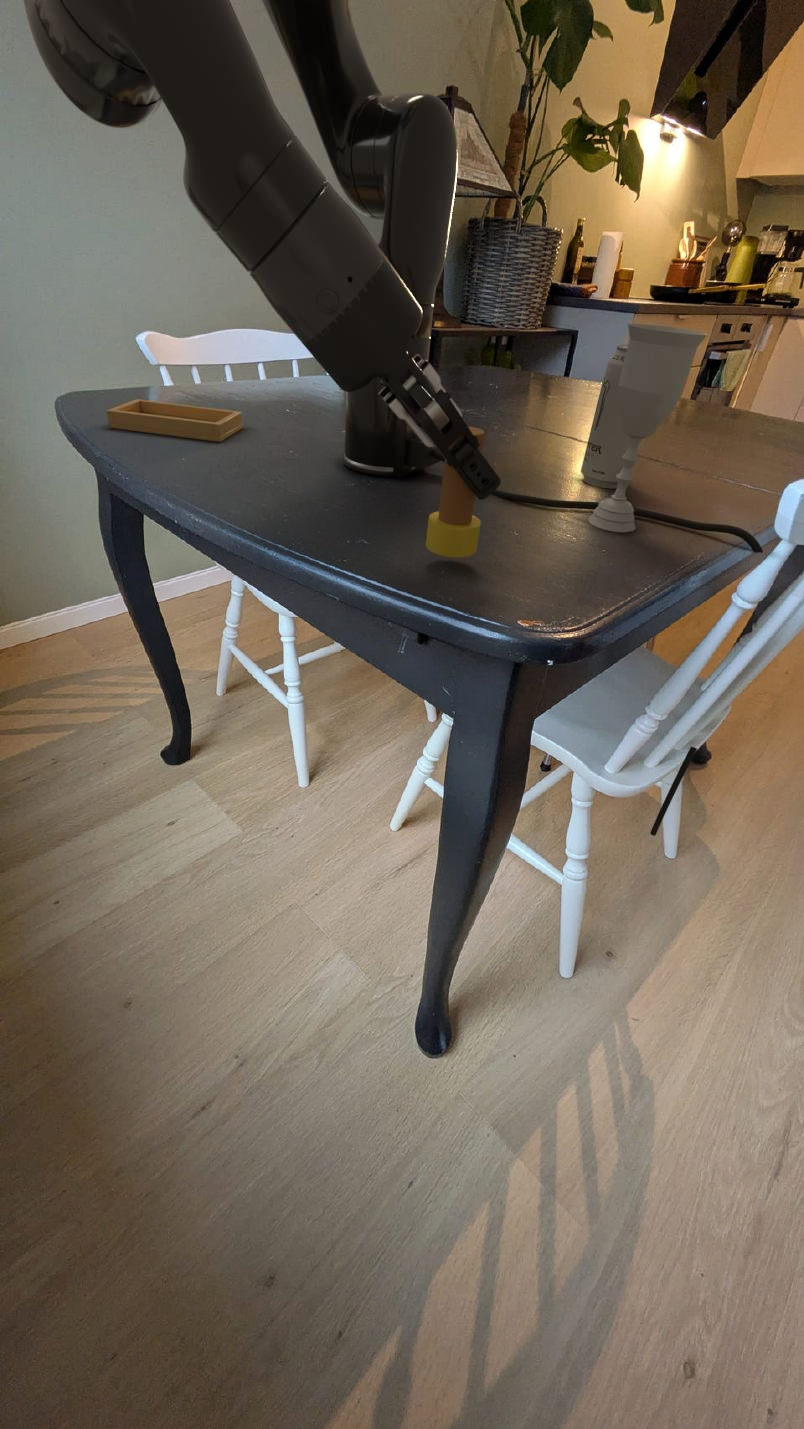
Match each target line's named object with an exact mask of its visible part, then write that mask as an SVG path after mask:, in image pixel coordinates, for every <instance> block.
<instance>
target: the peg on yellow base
mask: <svg viewBox="0 0 804 1429" xmlns="http://www.w3.org/2000/svg"><path fill="white" fill-rule="evenodd" d="M467 426H468V425H467ZM468 427H469V429H470V430H471V432H472V434H473V435H475V436H476V437H477V438H478V443H479V444H480V446H479V447H478V448H477V449H478V450H479V451H480V453H481V454H483V453H482V452H483V446H484V439H485V431H484V430H483V429H481V428H478V427H474V426H468ZM461 438H462V436H461V435H460V436H459V437H458V438H457V439H456V440H455V441H454V442H453V443H452V444H451V445H450V446H449V450H450V449H451V448H452V447H453V446H454V445H455V444H456V443H457V442H458V441H459V440H460V439H461ZM442 472H443V474H442V482H441V491H440V499H439V507H438V508H439V509H438V510H437V511H434V512H432V513H430V514H429V516H428V522H427V529H426V538H425V547H426V549H427V550H428V551H429V552H431V553H433V554H435V555H437V556H440V557H445V558H452V559H453V558H455V559H460V558H461V559H462V558H468V557H471V556H473V555H475V554H476V552H477V549H478V545H479V544H478V543H479V537H480V531H481V526H482V521H481V519H480V518H479V517H477V516H475V515H473V514H474V507H475V500H476V495H475V494H474V493H473V492H472V490H471V489H470V488H469V487H468V485H467V484H466V483H465V482H464V480H463V479H462V478H461V477H460V475H459V474H458V473H457V471H456V470H455V469H454V468H452V467H449V466H448V465H447V464H446V463H445V462H444V464H443V471H442Z"/></svg>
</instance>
